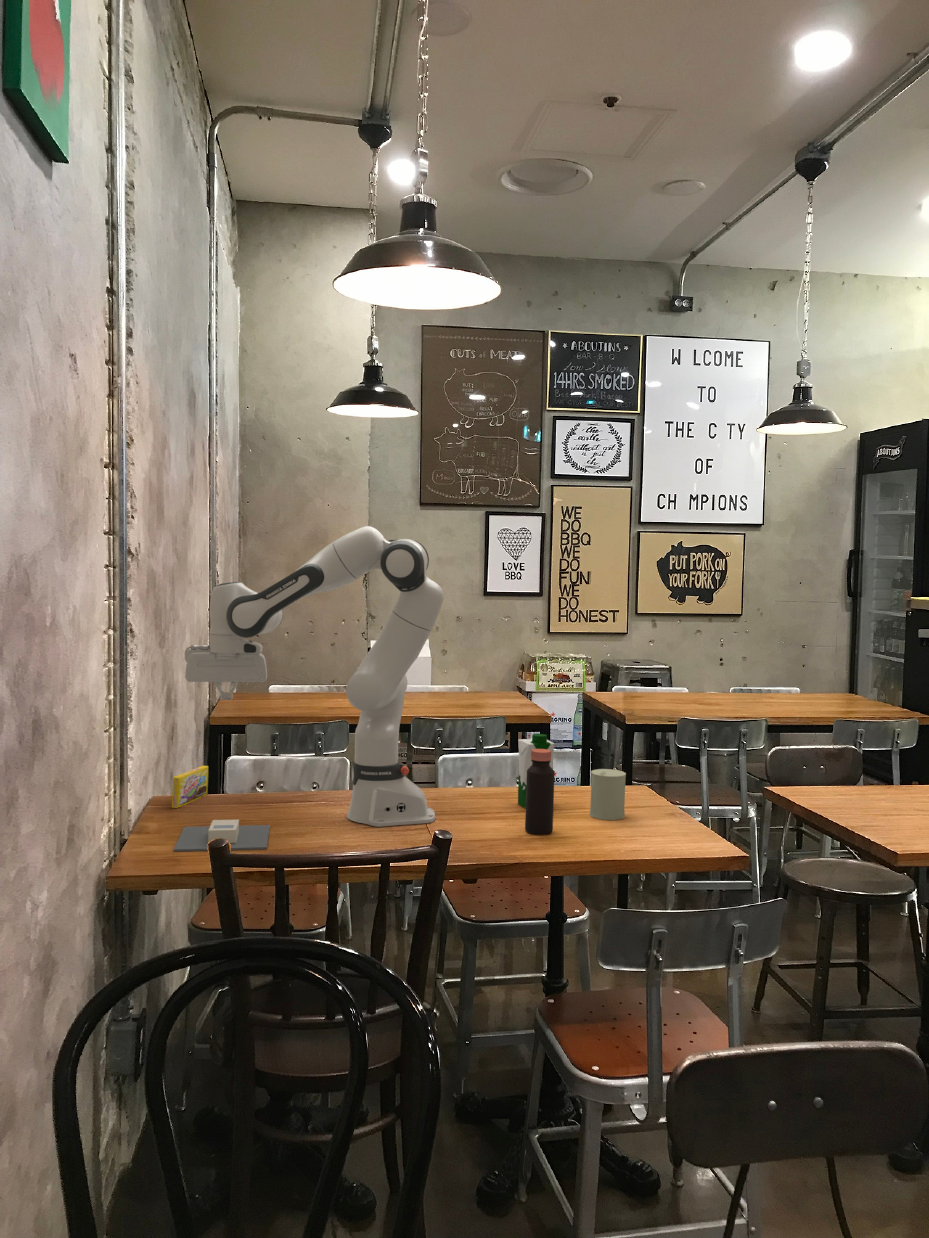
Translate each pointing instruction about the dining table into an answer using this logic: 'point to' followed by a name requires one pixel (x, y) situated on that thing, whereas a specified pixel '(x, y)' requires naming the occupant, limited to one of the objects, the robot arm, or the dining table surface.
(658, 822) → the dining table surface
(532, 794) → the bottle
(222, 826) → the card deck
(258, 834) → the mat
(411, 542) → the robot arm
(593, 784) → the can
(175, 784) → the candy box
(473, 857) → the dining table surface
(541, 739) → the milk carton
